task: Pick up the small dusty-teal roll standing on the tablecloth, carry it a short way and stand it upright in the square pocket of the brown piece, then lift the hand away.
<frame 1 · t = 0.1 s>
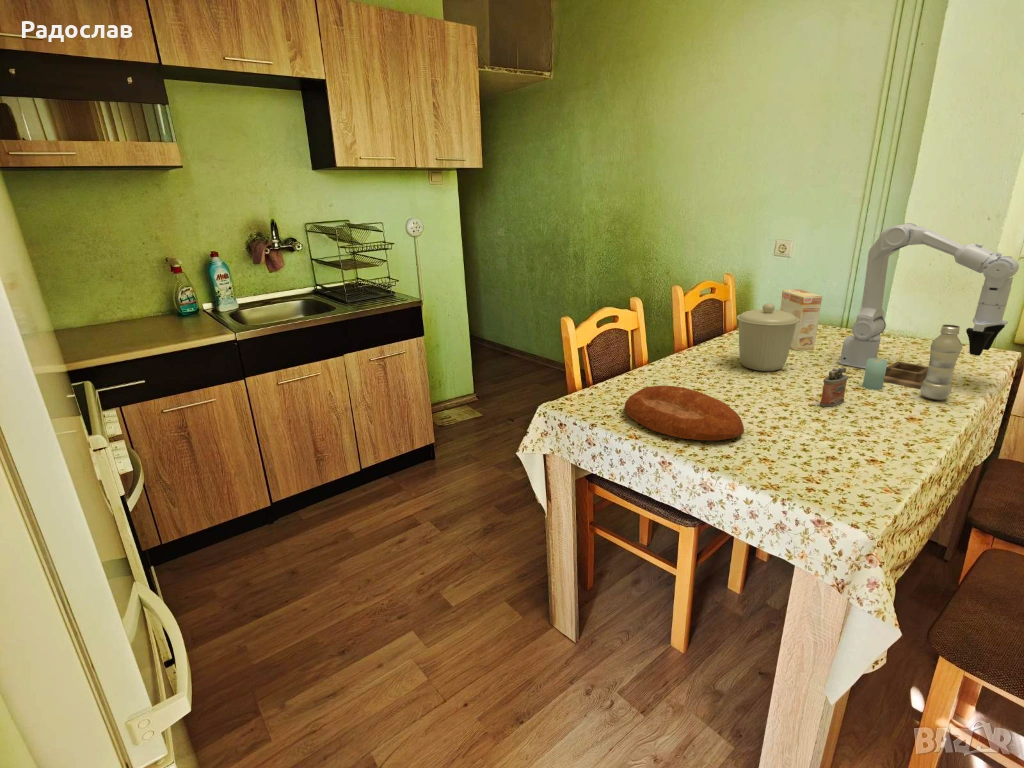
hand: (979, 352, 145), 10 cm above the table, tool pointing down, fingers open, 7 cm apart
coffeecake box: (794, 345, 194), on the table
lighter: (831, 404, 141), on the table
roll: (872, 386, 151), on the table
brown piece: (906, 378, 156), on the table
canister: (761, 367, 173), on the table
bread: (680, 423, 135), on the table
plastic bottle: (933, 399, 141), on the table
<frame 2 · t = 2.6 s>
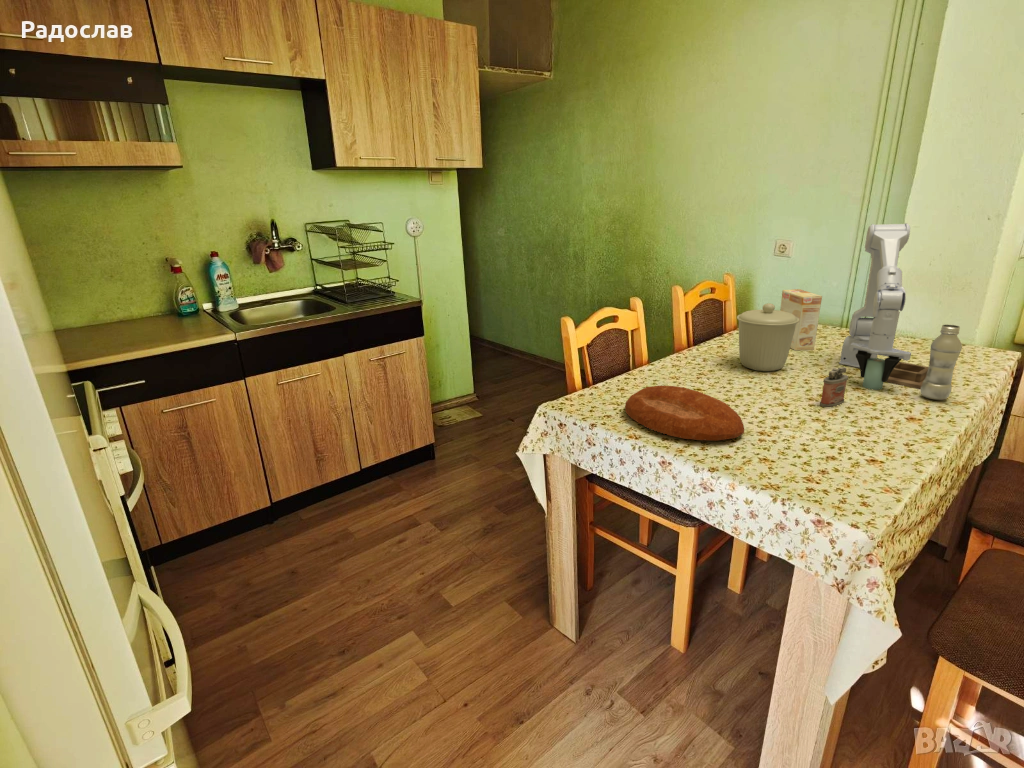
hand: (873, 378, 150), 2 cm above the table, tool pointing down, fingers closed on roll, 5 cm apart
roll: (872, 386, 151), on the table, touching gripper
everything else where it was.
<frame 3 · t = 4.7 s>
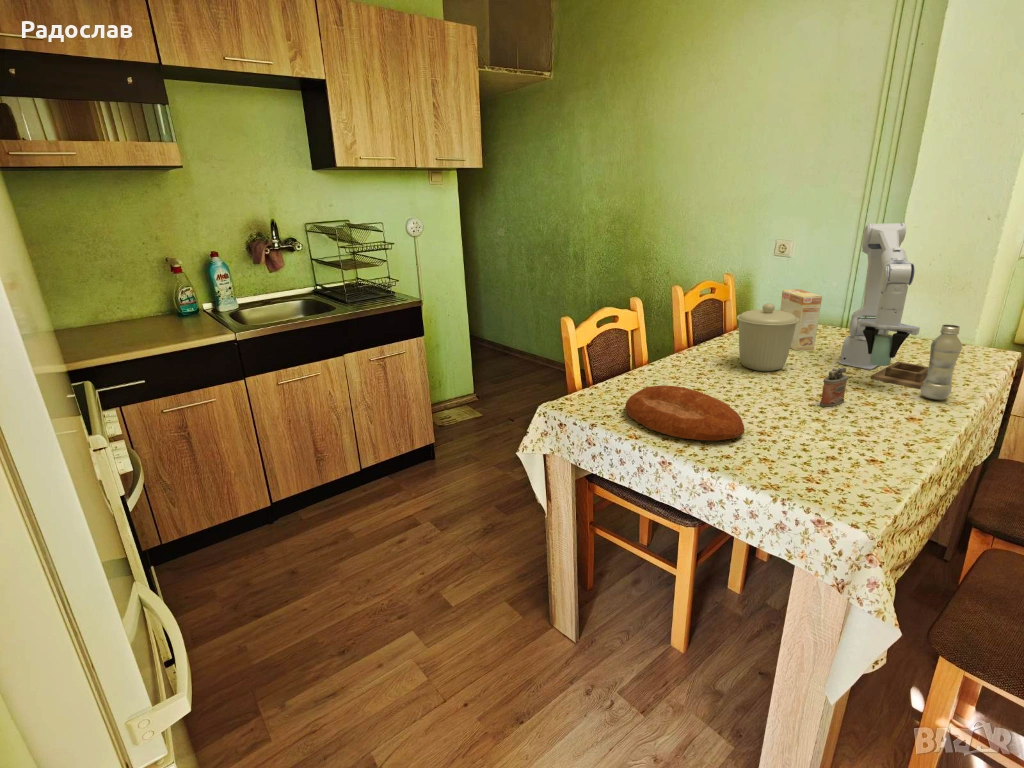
hand: (881, 355, 148), 9 cm above the table, tool pointing down, fingers closed on roll, 5 cm apart
roll: (879, 363, 149), point 7 cm above the table, touching gripper
everything else where it was.
when the fingers open (5 cm above the table, at t = 7.0 s): roll drops 1 cm, resting on brown piece.
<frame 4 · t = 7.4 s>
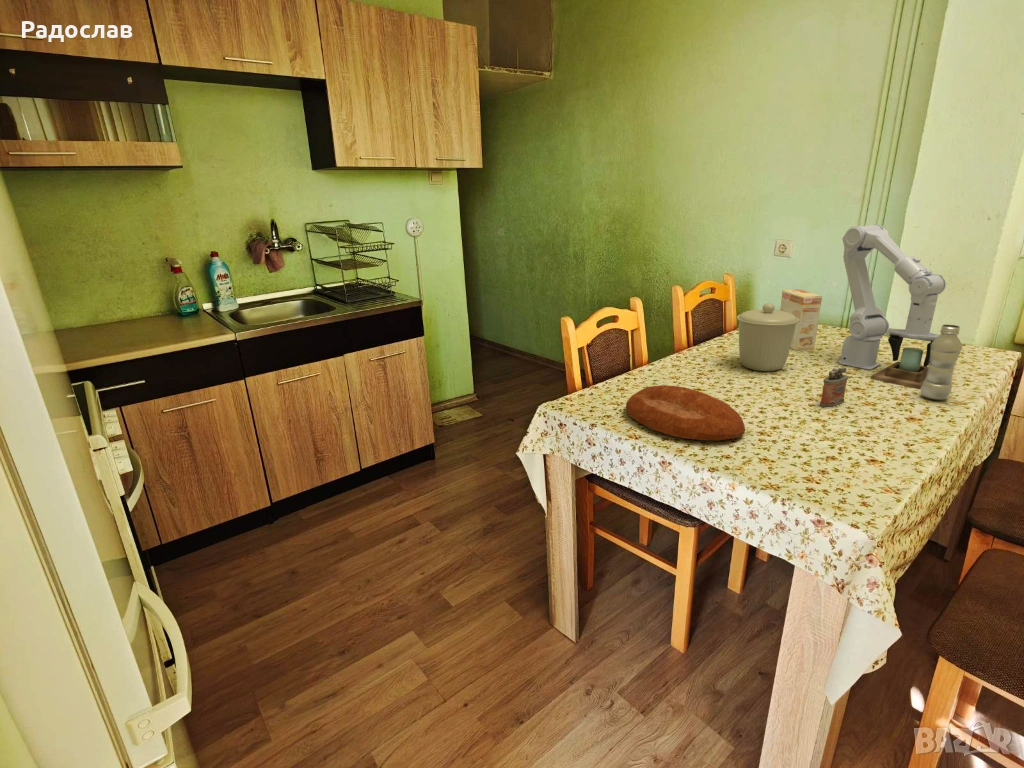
hand: (910, 363, 154), 5 cm above the table, tool pointing down, fingers open, 7 cm apart
roll: (907, 375, 155), point 1 cm above the table, touching brown piece
everything else where it was.
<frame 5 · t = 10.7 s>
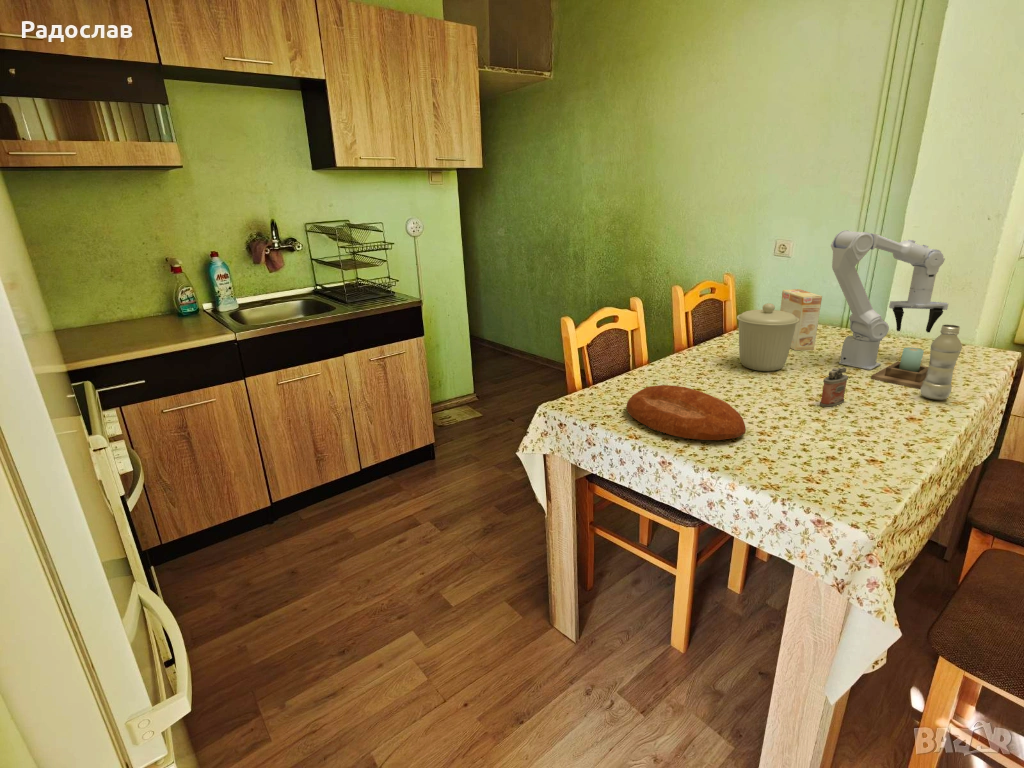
hand: (912, 331, 166), 10 cm above the table, tool pointing down, fingers open, 7 cm apart
nothing on the table moved.
at the end: roll 0.0 cm off-centre on the brown piece, point 1.0 cm above the brown piece's base; roll tilted 1°; the gripper is holding nothing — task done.
